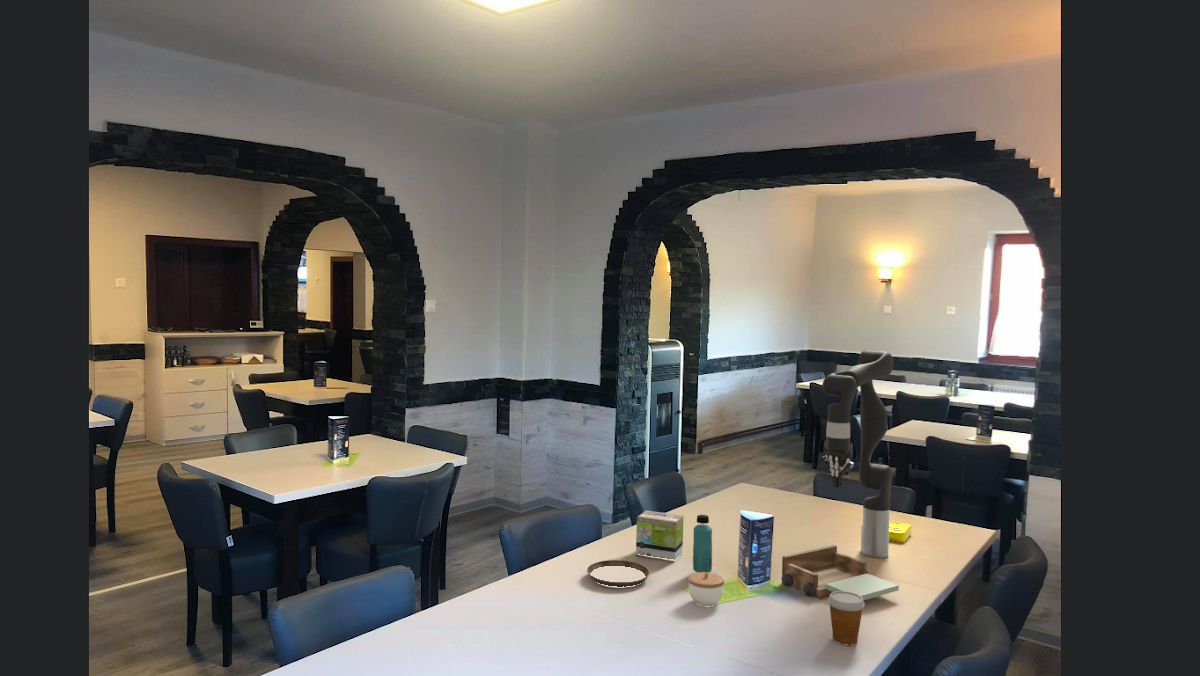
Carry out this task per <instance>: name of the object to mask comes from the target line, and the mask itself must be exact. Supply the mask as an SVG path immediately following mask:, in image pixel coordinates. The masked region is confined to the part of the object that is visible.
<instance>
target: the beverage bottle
mask: <svg viewBox="0 0 1200 676" xmlns="http://www.w3.org/2000/svg"><path fill="white" fill-rule="evenodd" d="M696 523H698V524H697V525H695V526H694V527H693V547H692V569H693V571H694V573H698V572H709V573H712V568H713V528H712V527H711V526H710V525H709V524H710V519H709V516H708V515H706V514H698V515H697V516H696Z"/></svg>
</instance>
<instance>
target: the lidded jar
mask: <svg viewBox="0 0 1200 676" xmlns="http://www.w3.org/2000/svg"><path fill="white" fill-rule="evenodd" d="M724 583H725V579H724V577H723V576H722V575H720V574H718V573H713V572H694V573H692V574H690V575H688V591H689V594H690V597H691V599H692V600H693V601H694V602H695V604H696V603H697V604H699V605H702V606H712V605H714V604H716V605H717V603H719V602H720V601H721V599H722V596H723V594H724ZM697 604H696V605H697ZM699 605H698V606H699ZM702 606H701V607H702ZM712 607H713V606H712Z"/></svg>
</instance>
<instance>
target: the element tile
mask: <svg viewBox="0 0 1200 676" xmlns="http://www.w3.org/2000/svg"><path fill="white" fill-rule="evenodd" d="M910 535H911V536H912V525H911V524H909V523H904V522H897V521H892V520H889V542H892V541H896V542H895V543H898V542H904V543H906V542H907V540H909V539H910V537H911V536H910ZM909 536H910V537H909ZM905 541H906V542H905Z"/></svg>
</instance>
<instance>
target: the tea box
mask: <svg viewBox="0 0 1200 676" xmlns="http://www.w3.org/2000/svg"><path fill="white" fill-rule="evenodd" d="M635 536H636V538H635V540H636V541H635V544H636V545H635V555H636V554H640V555H647V556H653V557H660V558H667V559H674V560H675V559H676V558H677V557H678V556H679V555H680V554H681V553H682V554H683V544H684V515H681V514H675V513H667V512H660V511H653V510H646V509H645V510H644V511H643V512H642V513H641V514H640V515H638V516H637V517H636V535H635Z"/></svg>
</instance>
